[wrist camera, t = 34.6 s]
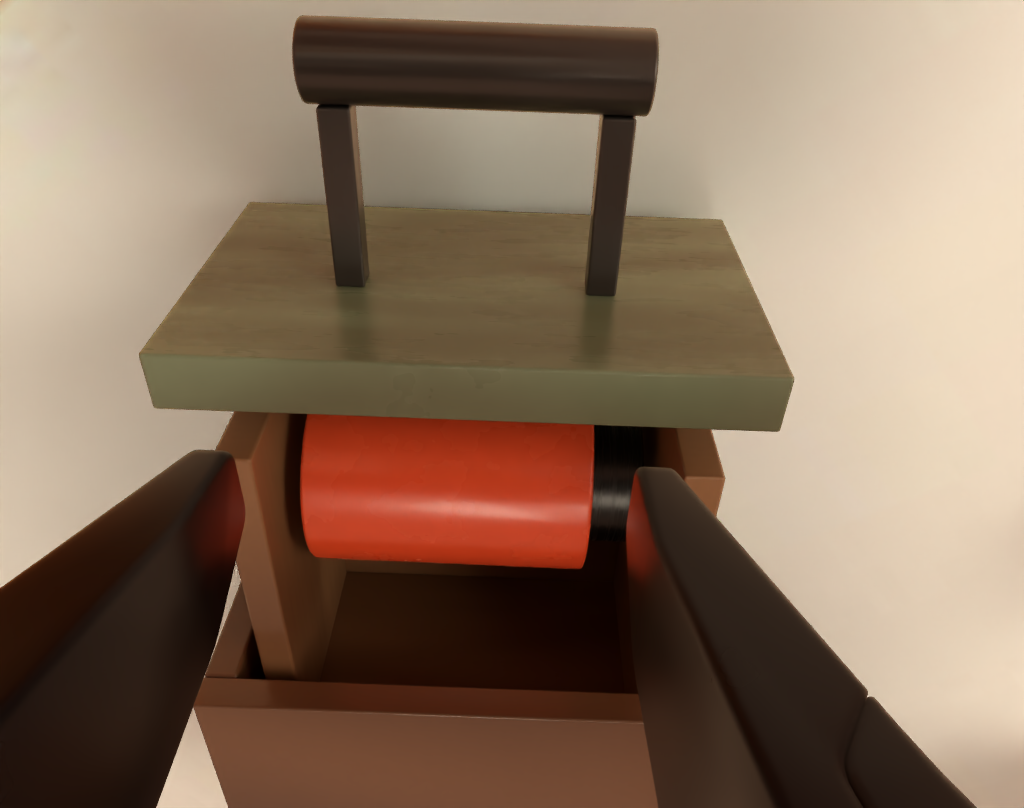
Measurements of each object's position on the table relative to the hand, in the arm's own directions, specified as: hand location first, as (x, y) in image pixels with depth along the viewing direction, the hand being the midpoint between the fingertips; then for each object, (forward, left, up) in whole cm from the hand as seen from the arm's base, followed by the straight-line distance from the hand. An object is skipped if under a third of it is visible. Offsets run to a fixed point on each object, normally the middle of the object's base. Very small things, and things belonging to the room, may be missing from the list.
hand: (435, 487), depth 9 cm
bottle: (0, +7, -10) cm, 13 cm away
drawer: (0, +5, -12) cm, 13 cm away
